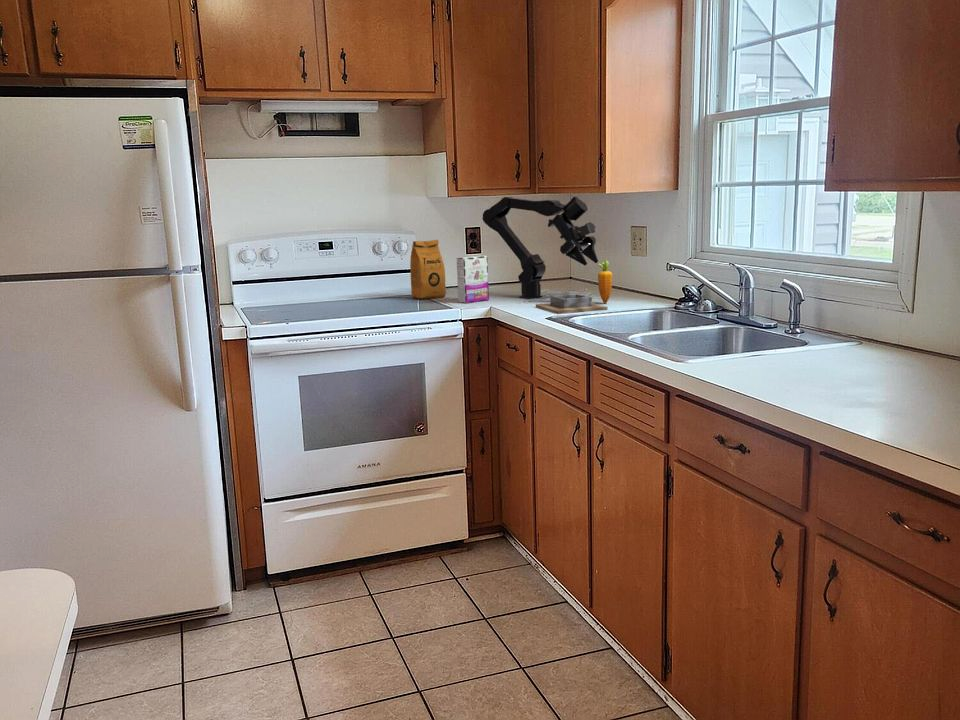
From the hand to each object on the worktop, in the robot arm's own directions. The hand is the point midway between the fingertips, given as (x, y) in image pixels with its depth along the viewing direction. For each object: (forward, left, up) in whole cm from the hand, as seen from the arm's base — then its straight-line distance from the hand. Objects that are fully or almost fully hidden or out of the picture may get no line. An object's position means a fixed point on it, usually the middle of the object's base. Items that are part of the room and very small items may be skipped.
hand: (591, 263), depth 298 cm
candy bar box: (-33, +27, -14) cm, 45 cm away
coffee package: (-41, +47, -14) cm, 64 cm away
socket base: (-17, -11, -13) cm, 24 cm away
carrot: (-1, -9, -14) cm, 16 cm away
